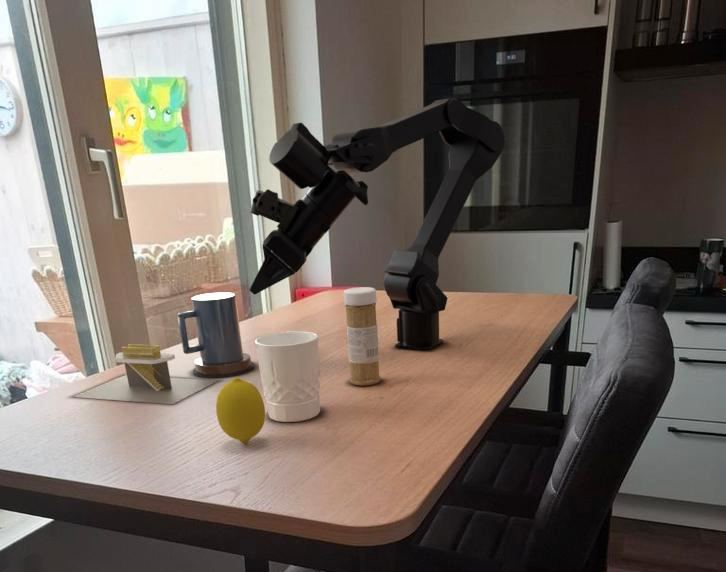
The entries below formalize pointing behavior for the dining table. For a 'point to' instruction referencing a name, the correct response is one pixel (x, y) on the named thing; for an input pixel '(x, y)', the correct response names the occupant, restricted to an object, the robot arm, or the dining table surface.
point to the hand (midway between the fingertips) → (256, 287)
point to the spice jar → (362, 335)
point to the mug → (215, 335)
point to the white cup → (290, 374)
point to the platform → (146, 379)
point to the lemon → (240, 410)
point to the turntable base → (224, 375)
